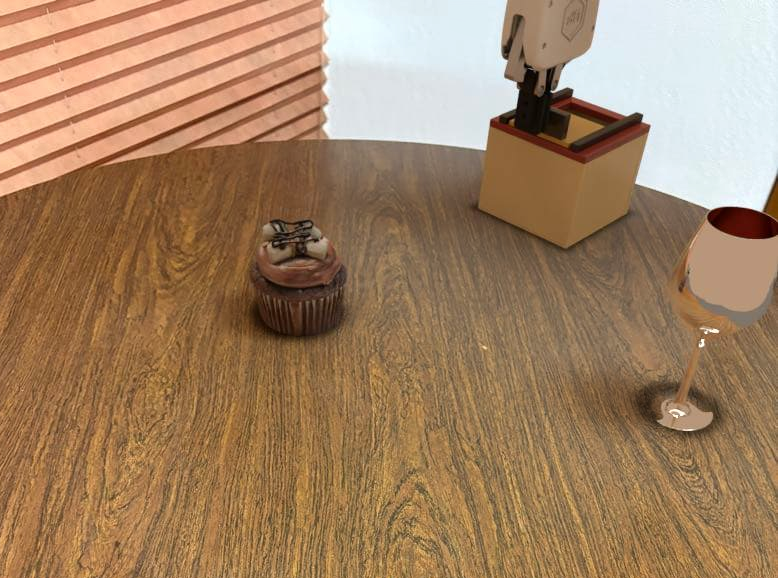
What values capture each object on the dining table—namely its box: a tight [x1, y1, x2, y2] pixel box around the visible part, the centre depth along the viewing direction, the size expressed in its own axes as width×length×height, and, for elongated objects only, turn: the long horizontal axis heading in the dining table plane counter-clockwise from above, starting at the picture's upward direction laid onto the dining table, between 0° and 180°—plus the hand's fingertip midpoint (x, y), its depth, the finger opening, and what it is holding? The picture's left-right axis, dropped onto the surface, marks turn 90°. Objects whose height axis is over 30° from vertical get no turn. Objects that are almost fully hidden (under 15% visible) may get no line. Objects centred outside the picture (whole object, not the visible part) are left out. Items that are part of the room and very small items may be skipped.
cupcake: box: [248, 217, 349, 337], centre depth 83 cm, size 10×10×10 cm
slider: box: [509, 107, 605, 148], centre depth 94 cm, size 7×8×3 cm
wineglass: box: [656, 205, 778, 432], centre depth 73 cm, size 8×8×18 cm
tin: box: [477, 87, 651, 250], centre depth 100 cm, size 13×13×12 cm
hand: (529, 129), depth 92 cm, fingers closed
